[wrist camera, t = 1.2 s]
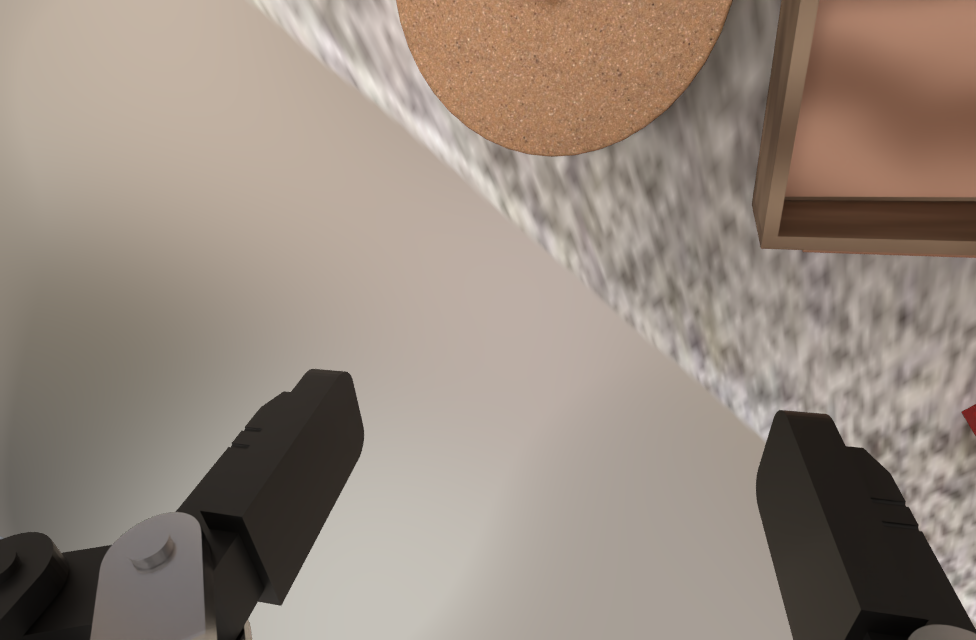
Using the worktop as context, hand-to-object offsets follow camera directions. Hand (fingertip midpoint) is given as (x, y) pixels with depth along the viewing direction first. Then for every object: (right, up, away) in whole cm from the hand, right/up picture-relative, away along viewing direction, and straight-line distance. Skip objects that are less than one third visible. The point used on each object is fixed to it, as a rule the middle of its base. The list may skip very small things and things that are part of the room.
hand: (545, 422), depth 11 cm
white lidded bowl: (+4, +19, +16) cm, 25 cm away
